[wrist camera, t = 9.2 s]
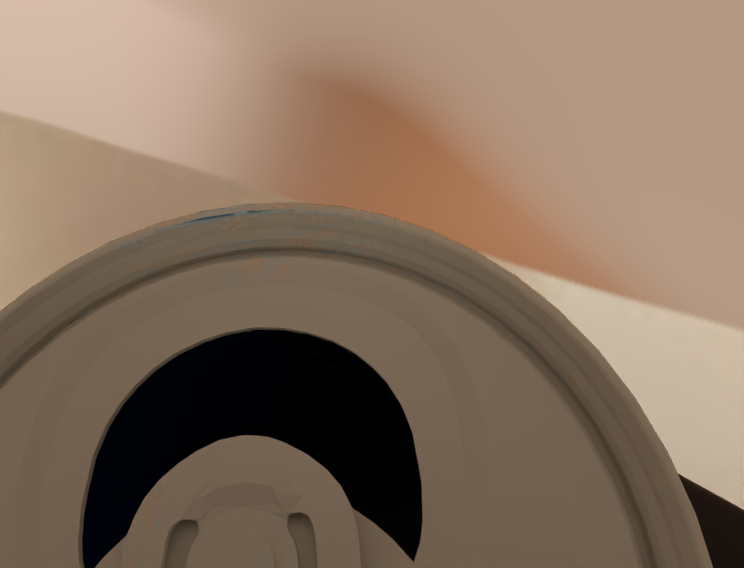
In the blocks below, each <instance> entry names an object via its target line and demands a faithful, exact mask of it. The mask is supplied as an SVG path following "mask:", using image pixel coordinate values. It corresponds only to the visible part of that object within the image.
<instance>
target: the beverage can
mask: <svg viewBox="0 0 744 568" xmlns="http://www.w3.org/2000/svg"><path fill="white" fill-rule="evenodd" d="M89 566H96V567H95V568H713V566H712V563H711V560H710V557H709V553H708V550H707V547H706V544H705V541H704V538H703V535H702V532H701V528H700V525H699V522H698V519H697V516H696V513H695V511H694V509H693V507H692V504H691V502H690V500H689V498H688V496H687V493H686V491H685V489H684V487H683V485H682V482H681V480H680V478H679V476H678V473H677V471H676V469H675V467H674V465H673V462H672V460H671V458H670V456H669V454H668V452H667V450H666V448H665V447H664V445H663V443H662V442H661V440H660V438H659V437H658V435H657V433H656V432H655V430H654V428H653V427H652V425H651V423H650V422H649V420H648V418H647V417H646V415H645V413H644V412H643V410H642V408H641V407H640V405H639V403H638V402H637V400H636V398H635V397H634V396H633V394H632V393H631V392H630V390H629V389H628V388H627V386H626V385H625V384H624V383H623V381H622V380H621V379H620V377H619V376H618V375H617V374H616V372H615V371H614V370H613V368H612V367H611V366H610V365H609V363H608V362H607V361H606V359H605V358H604V357H603V355H602V354H601V353H600V352H599V350H598V349H597V348H596V347H595V346H594V345H593V344H592V343H591V342H590V341H589V340H588V339H587V338H586V337H585V336H584V335H583V334H582V333H581V332H580V331H579V330H578V329H577V328H576V327H575V326H574V325H573V324H572V323H571V322H570V321H569V320H568V319H567V318H566V317H565V316H564V315H563V314H562V313H561V312H560V311H559V310H558V309H557V308H556V307H555V306H553V305H552V304H551V303H550V302H548V301H547V300H546V299H545V298H543V297H542V296H541V295H540V294H538V293H537V292H536V291H535V290H533V289H532V288H531V287H530V286H528V285H527V284H526V283H525V282H523V281H522V280H521V279H520V278H518V277H517V276H515V275H514V274H512V273H511V272H509V271H507V270H506V269H504V268H502V267H501V266H499V265H498V264H496V263H494V262H493V261H491V260H489V259H488V258H486V257H485V256H483V255H481V254H480V253H478V252H477V251H475V250H473V249H471V248H469V247H466V246H464V245H462V244H460V243H458V242H456V241H454V240H451V239H449V238H447V237H445V236H443V235H441V234H438V233H436V232H434V231H432V230H430V229H427V228H424V227H421V226H417V225H414V224H411V223H408V222H405V221H402V220H399V219H396V218H392V217H389V216H386V215H382V214H377V213H372V212H367V211H362V210H357V209H352V208H347V207H341V206H332V205H319V204H305V203H271V204H247V205H241V206H234V207H228V208H221V209H215V210H209V211H202V212H198V213H195V214H191V215H187V216H184V217H180V218H176V219H172V220H169V221H165V222H161V223H158V224H155V225H152V226H150V227H147V228H145V229H142V230H139V231H137V232H134V233H132V234H129V235H126V236H124V237H121V238H119V239H116V240H114V241H111V242H109V243H107V244H106V245H104V246H102V247H100V248H98V249H96V250H94V251H92V252H90V253H88V254H86V255H84V256H82V257H80V258H78V259H76V260H74V261H72V262H70V263H69V264H67V265H66V266H64V267H62V268H61V269H59V270H58V271H56V272H55V273H53V274H52V275H50V276H48V277H47V278H45V279H44V280H42V281H41V282H39V283H38V284H36V285H35V286H33V287H31V288H30V289H28V290H27V291H26V292H24V293H23V294H22V295H21V296H19V297H18V298H17V299H15V300H14V301H13V302H12V303H10V304H9V305H8V306H7V307H5V308H4V309H3V310H2V311H0V568H86V567H89Z"/></svg>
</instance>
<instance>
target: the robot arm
mask: <svg viewBox="0 0 744 568" xmlns="http://www.w3.org/2000/svg"><path fill="white" fill-rule="evenodd" d="M678 476H679V478H680V480H681V482H682V485H683V487H684V489H685V491H686V493H687V496H688V498H689V500H690V502H691V504H692V507H693V509H694V511H695V513H696V516H697V519H698V522H699V525H700V528H701V532H702V535H703V538H704V541H705V544H706V547H707V550H708V553H709V557H710V560H711V563H712V566H713V568H744V510H743V509H741V508H739V507H738V506H736V505H734V504H732V503H730V502H729V501H727V500H725V499H723V498H721V497H719V496H718V495H716V494H714V493H712V492H710V491H709V490H707V489H705V488H703V487H701V486H700V485H698V484H696V483H694V482H692V481H690V480H689V479H687V478H685V477H683V476H681V475H680V474H678ZM95 567H96V566H89V567H86V568H95Z"/></svg>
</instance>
